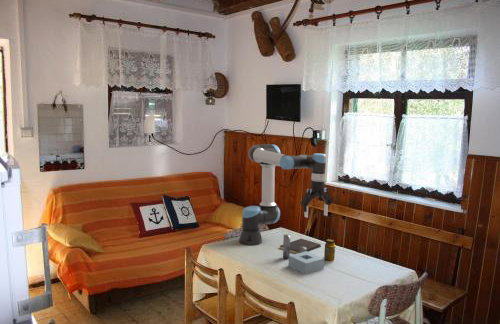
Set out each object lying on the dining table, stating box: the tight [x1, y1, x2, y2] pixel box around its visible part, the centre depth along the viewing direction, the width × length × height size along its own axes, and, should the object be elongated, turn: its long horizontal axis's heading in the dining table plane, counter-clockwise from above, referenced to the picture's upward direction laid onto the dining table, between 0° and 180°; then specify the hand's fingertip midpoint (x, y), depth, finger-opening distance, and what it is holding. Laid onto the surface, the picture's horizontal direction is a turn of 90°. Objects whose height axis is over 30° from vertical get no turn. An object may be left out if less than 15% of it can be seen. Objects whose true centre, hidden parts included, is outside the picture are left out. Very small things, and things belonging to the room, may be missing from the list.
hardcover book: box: [279, 238, 322, 254], centre depth 265 cm, size 16×23×2 cm
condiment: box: [323, 238, 338, 264], centre depth 244 cm, size 7×8×12 cm
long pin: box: [282, 233, 291, 260], centre depth 244 cm, size 4×4×14 cm
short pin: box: [300, 246, 307, 253], centre depth 247 cm, size 4×4×6 cm
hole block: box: [287, 251, 325, 275], centre depth 231 cm, size 14×14×6 cm
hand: (315, 216), depth 239 cm, fingers open, 13 cm apart
